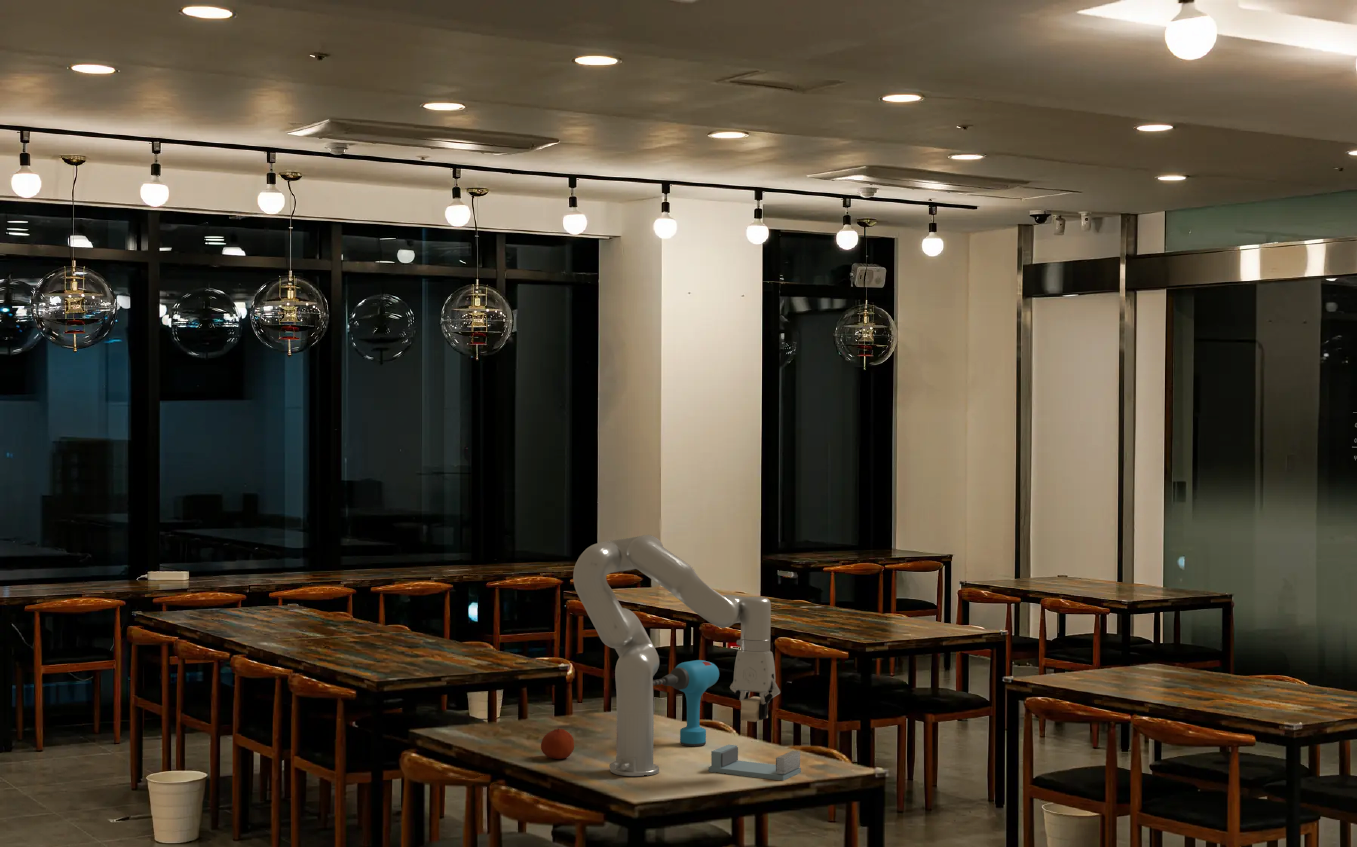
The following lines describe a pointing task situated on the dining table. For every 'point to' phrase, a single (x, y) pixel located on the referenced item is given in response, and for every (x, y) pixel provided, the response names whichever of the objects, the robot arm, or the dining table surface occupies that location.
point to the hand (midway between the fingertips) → (754, 717)
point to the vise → (744, 765)
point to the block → (750, 709)
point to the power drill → (692, 695)
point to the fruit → (557, 744)
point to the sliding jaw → (788, 762)
